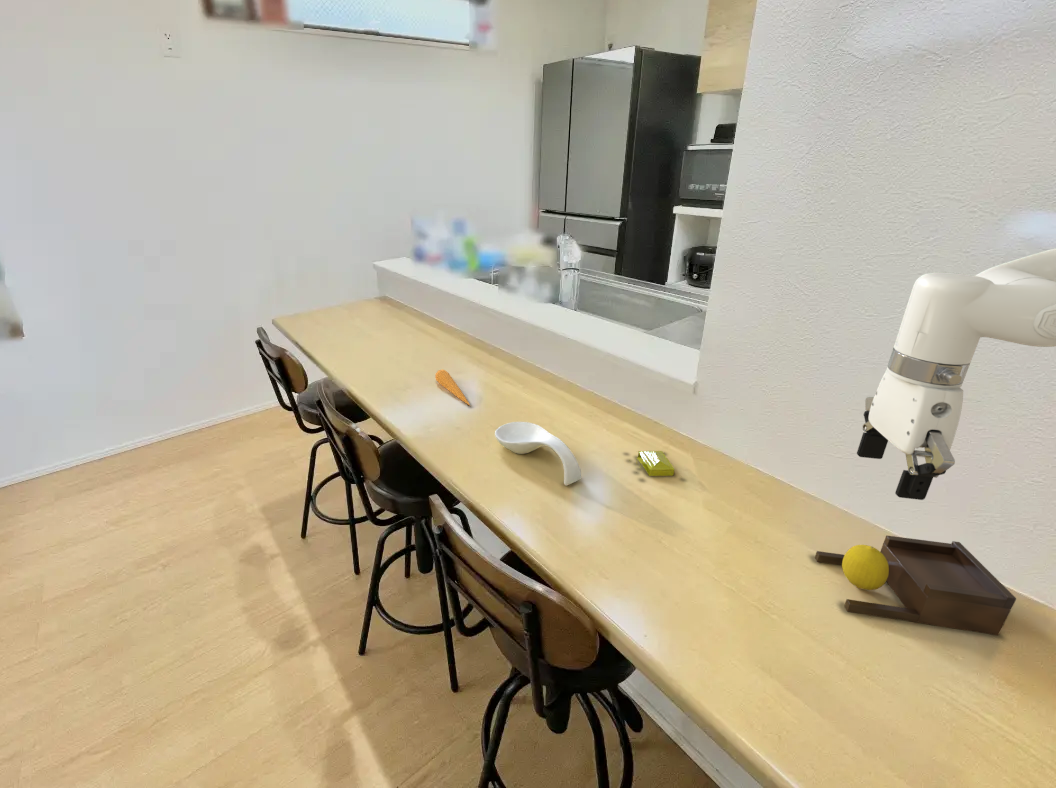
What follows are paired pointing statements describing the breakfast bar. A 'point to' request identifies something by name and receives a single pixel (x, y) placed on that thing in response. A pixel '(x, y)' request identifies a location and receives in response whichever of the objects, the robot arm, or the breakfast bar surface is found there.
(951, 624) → the brown wooden wheelbarrow
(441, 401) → the breakfast bar surface
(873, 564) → the lemon
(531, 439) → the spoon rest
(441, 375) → the carrot
